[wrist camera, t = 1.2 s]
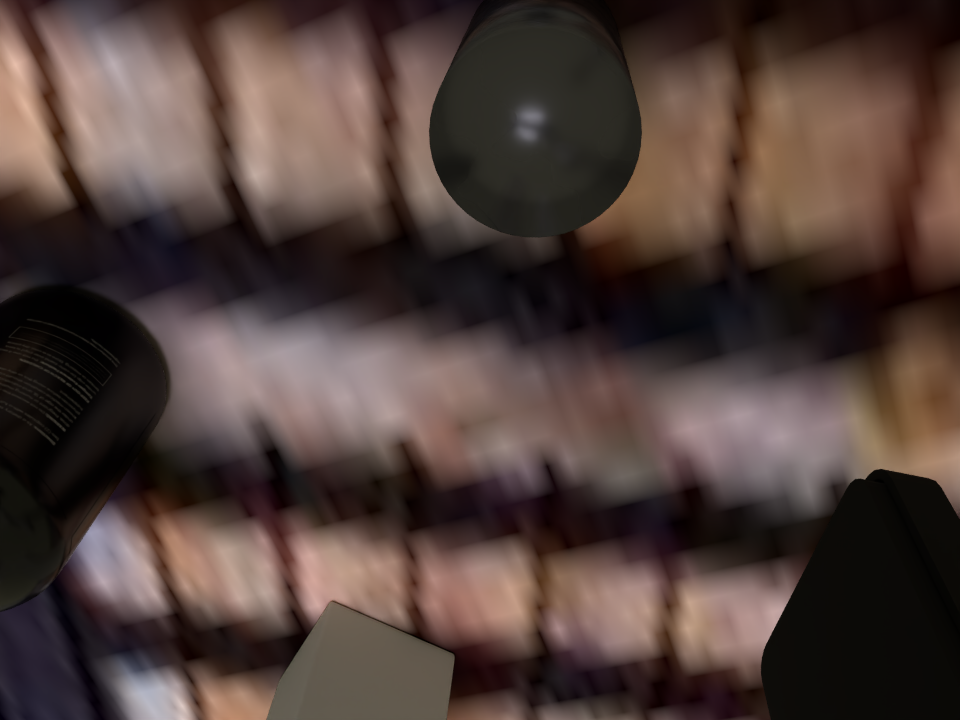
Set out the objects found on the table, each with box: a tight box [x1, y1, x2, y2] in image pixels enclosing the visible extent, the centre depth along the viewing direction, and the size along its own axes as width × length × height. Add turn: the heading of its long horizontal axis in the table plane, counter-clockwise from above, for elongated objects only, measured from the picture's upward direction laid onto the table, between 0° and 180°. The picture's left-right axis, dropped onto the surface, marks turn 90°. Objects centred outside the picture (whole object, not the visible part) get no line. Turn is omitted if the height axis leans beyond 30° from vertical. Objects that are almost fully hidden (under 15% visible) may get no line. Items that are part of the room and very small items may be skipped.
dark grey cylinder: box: [429, 0, 642, 237], centre depth 22 cm, size 4×4×8 cm
